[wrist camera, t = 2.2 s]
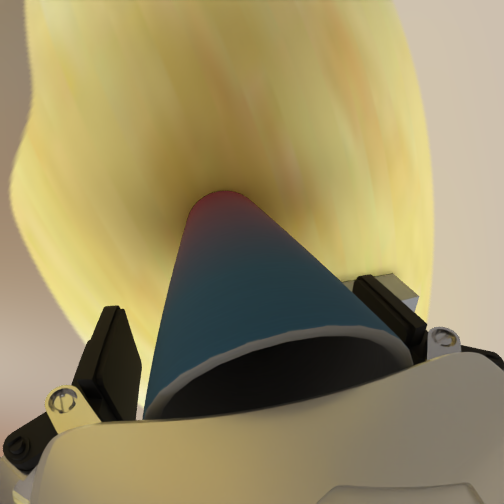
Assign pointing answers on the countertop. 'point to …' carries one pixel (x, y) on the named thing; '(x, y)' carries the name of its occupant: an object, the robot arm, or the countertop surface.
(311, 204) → the countertop surface
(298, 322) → the cup
